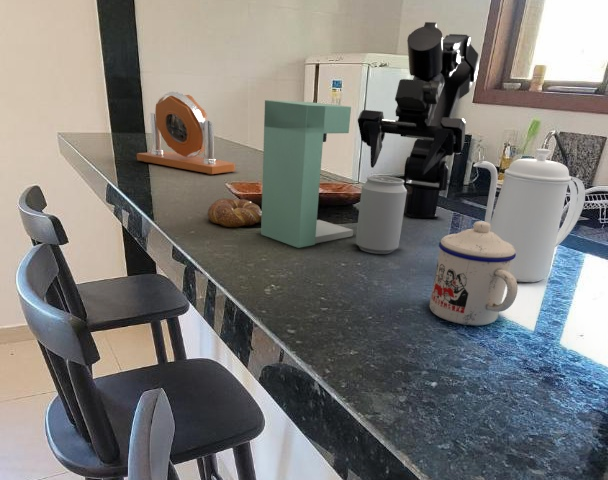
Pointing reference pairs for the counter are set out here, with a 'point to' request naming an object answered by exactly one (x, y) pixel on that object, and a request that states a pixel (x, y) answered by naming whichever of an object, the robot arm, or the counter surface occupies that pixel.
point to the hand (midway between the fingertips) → (396, 169)
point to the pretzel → (234, 213)
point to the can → (381, 214)
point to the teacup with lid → (473, 277)
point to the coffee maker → (297, 170)
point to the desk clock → (183, 136)
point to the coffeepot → (533, 211)
